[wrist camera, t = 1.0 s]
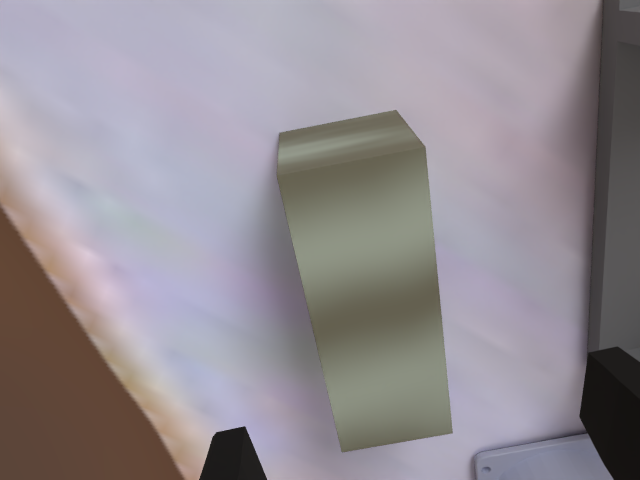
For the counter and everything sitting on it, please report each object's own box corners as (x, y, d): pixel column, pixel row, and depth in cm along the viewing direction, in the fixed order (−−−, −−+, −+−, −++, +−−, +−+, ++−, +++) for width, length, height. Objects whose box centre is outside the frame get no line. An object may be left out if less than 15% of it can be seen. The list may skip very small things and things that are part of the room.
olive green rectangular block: (424, 352, 25) (452, 433, 21) (332, 369, 26) (342, 452, 21) (395, 108, 20) (425, 146, 16) (279, 131, 20) (276, 175, 16)
